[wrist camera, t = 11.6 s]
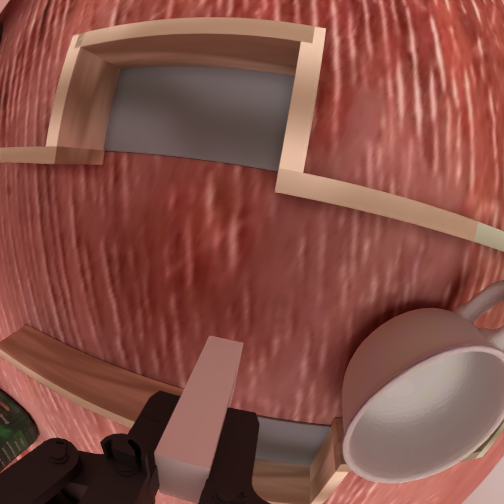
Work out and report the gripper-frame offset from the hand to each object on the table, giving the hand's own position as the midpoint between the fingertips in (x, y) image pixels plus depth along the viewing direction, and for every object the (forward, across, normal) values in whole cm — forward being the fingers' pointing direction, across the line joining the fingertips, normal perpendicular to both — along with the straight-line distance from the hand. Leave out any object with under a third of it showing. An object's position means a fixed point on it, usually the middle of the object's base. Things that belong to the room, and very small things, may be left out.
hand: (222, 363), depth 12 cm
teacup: (+7, +13, -1) cm, 14 cm away
